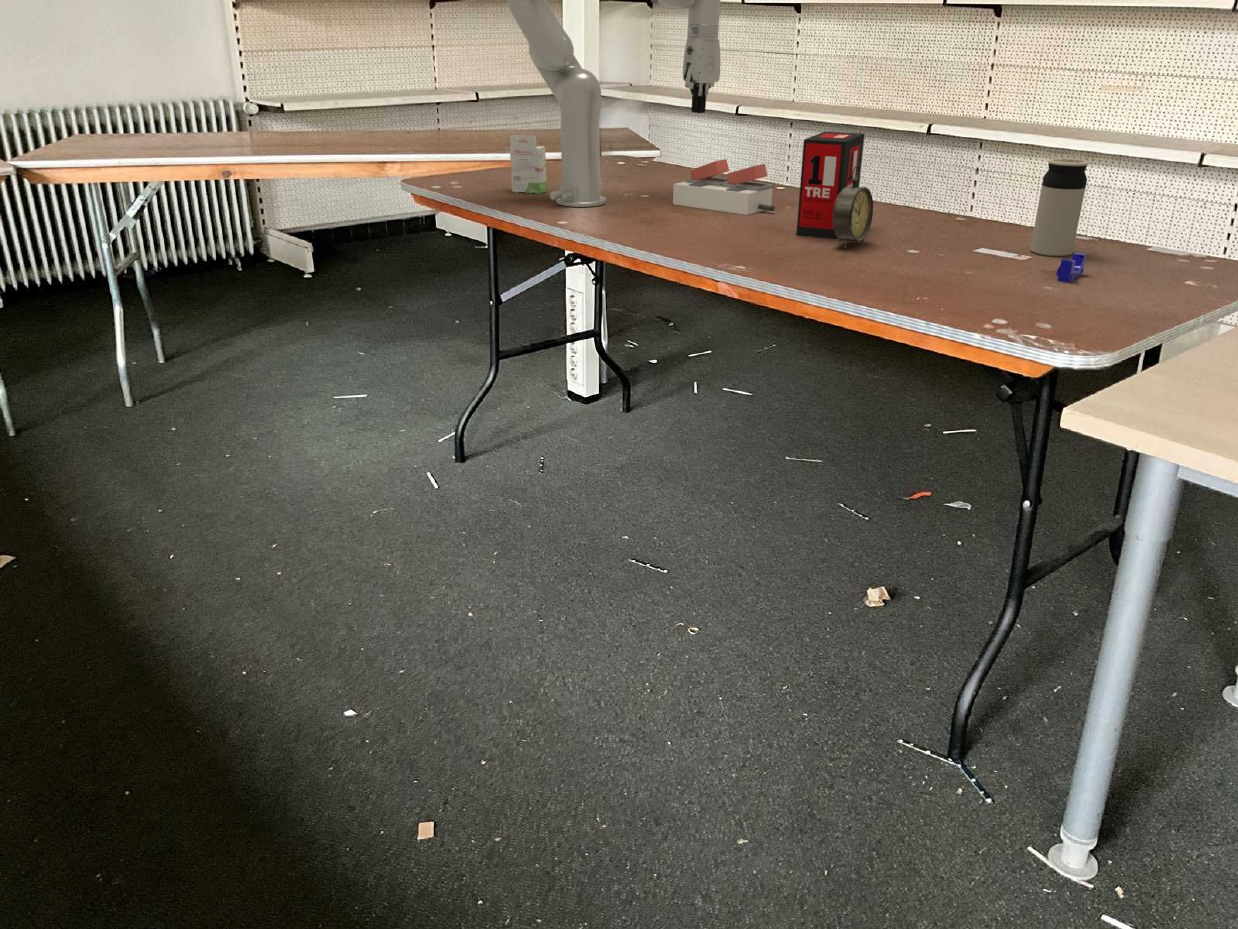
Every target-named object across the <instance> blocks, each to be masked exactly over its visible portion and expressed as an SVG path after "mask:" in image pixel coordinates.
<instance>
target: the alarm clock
mask: <svg viewBox="0 0 1238 929" xmlns="http://www.w3.org/2000/svg"><path fill="white" fill-rule="evenodd" d="M856 167H857V168H858V174H857V178H856V179H853V174H854V170H855V168H856ZM858 176H859V166H858V165H856V166H855V167H854V169H853V172H852V182H853V185H852V187H851V186H849V187H846V188H844V189H843V190H842V191H841V192H840V193H839V195H838V197H837V199H836V201H835V205H834V209H833V229H834V232H835V234H836V236H837V237H838V238H837V239H838V240H839V242H838V244H840V243H842V241H843V242H844V243H843V247H842V250H844V251H845V250H846V249H847V246H848V244H849V242H853V243H854V242H856V243H859V242H862V243H863V242H864V239H865V238H866V236H867V235H868V233H869V231H870V228H871V226H872V223H873V214H874V199H873V195H872V192H871V190H870V189H869V188H868V187H866V186H859V187H857V179H858Z"/></svg>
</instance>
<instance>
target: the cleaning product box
mask: <svg viewBox="0 0 1238 929" xmlns="http://www.w3.org/2000/svg"><path fill="white" fill-rule="evenodd" d="M865 136H866V135H865V133H862V132H861V133H859V132H858V133H857V132H841V131H823V132H819V133H817V134H815V135H814V134H813V135H812V136H809V137H805V138H804V139H803V146H802V159H801V169H800V170H801V171H800V172H801V173H800V184H799V185H800V186H799V196H798V197H799V198H798V208H797V223H796V232H795V233H796V234H795V235H796V236H801V237H809V236H812V237H813V238H821V239H831V240H837V239H839V238H838V237H837V236H836V234H835V232H834V229H833V209H834V205H835V201H836V199H837V197H838V195H839V193H840V192H841V191H842V190H843V189H844V188H846V187H849V186H851V187H852V185H853V182H852V172H853V169H854V167H855V166H856V165H858V166H859V176H858V179H857V187H860V182H861V181H860V180H861V171H862V162H863V161H862V160H863V150H864V142H865ZM857 174H858V168H857V167H856V168H855V170H854V174H853V179H856V178H857ZM812 237H811V238H812Z"/></svg>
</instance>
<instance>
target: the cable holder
mask: <svg viewBox="0 0 1238 929" xmlns="http://www.w3.org/2000/svg"><path fill="white" fill-rule="evenodd" d="M1086 259H1087V253H1083V252H1082V253H1081V252H1074V253H1072V257H1071V259H1068V258H1062V259H1061V260H1060V265H1059V266H1058V267H1057V271H1056V274H1055V275H1056V276H1057V282H1062V283H1067V284H1070V283H1071V282H1072V281H1074V280H1076V279H1078V278H1079V277H1081V276H1083V275H1084V270H1085V269H1084V268H1085V264H1086V261H1087V260H1086Z"/></svg>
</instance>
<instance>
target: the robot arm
mask: <svg viewBox="0 0 1238 929" xmlns="http://www.w3.org/2000/svg"><path fill="white" fill-rule="evenodd" d="M657 2H658V3H659V4H660V5H661V6H662V7H663V8H665V9H669V10H686V9H688V14H687V17H688V18H687V19H688V20H687V23H688V24H687V36H686V42H685V46H684V47H685V48H684V55H683V63H682V64H683V65H682V79H683V81H684V82H685V83H684V87H685V88H687V89H689V90H690V96H691V110H690V111H691V113H695V114H705V113H706V106H707V104H706V103H707V96H708V95H709V90H710V89H711V88H713V87H715V83H717V82H719V81H720V78H721V43H720V39H719V31H720V30H719V29H720V15H721V14H720V11H721V0H657ZM507 4H508V7H509V9H510V12H511V14H512V17H513V18H514V21H515V22H516V23H517V25H518V27H519V29H520V30H521V33H522V34H523V36H524V37H525V39H526V42H528V53H529V57H530V59H531V61H532V62H533V64H534V66H535V68H536V69H537V71H538V72H539V74H540V75H541V77H542V79H543V80H544V82H545V83H546V85H547V87H548V88H549V89H550V91H551V92H552V95H553V96H554V97H555V98H556V100H557V101H558V103H560V104H561V111H560V149H561V150H560V151H561V158H560V159H561V185H559V189H558V190H555V191H551V192H550V193H549V197H550V199H551V201H554V200H555V201H556V203H557V204H558V205H561V206H564V207H572V208H578V207H579V208H580V207H581V208H584V207H586V208H587V207H597V206H602V205H605V204H606V203H607V198H606V197H605V196H602V195H601V183H600V182H601V181H600V180H601V178H600V177H601V174H600V170H601V169H600V164H601V163H600V161H601V160H600V157H601V156H600V155H601V154H600V151H601V150H600V144H601V143H600V117H601V116H600V114H601V107H602V106H601V104H602V89H601V84H600V81H599V80H598V78H597V77H596V75H595V74H593V72H591V71H589V70H587V69H584V68H583V67H582V66H581V64H580V62H579V61H578V59H577V58H576V56H575V54H574V52H575V50H574V44H573V41H572V39H571V38H570V36H569V34H568V33H567V32H566V30H565V29H564V28H563V26H562V24H561V23H560V21H559V20H558V18H557V17H556V15H555V13H554V12H553V9H552V7H551V6H550V4H549V2H548V0H507Z"/></svg>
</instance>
